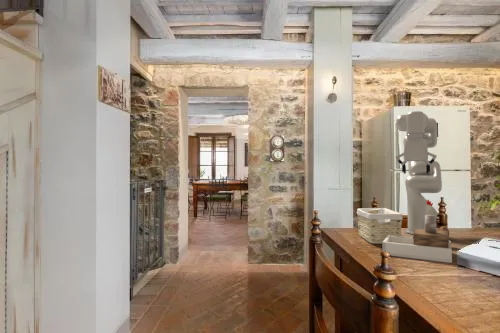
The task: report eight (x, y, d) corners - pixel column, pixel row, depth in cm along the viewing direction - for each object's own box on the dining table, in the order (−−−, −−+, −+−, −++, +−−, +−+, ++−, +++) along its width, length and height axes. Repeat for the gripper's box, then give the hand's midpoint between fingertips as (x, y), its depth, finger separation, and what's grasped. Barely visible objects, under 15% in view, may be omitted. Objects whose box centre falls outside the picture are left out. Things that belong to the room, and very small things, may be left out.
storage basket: (356, 234, 173) (355, 207, 173) (386, 234, 172) (386, 207, 172) (369, 245, 149) (368, 213, 149) (404, 245, 148) (404, 213, 148)
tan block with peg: (413, 253, 129) (412, 216, 129) (415, 246, 139) (414, 212, 139) (449, 257, 122) (448, 218, 122) (448, 250, 133) (447, 214, 133)
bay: (382, 254, 132) (382, 242, 132) (388, 245, 147) (388, 234, 147) (452, 262, 120) (451, 249, 120) (450, 252, 134) (450, 240, 134)
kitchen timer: (410, 221, 211) (410, 199, 211) (428, 220, 214) (427, 198, 214) (426, 225, 198) (426, 201, 198) (445, 224, 201) (444, 200, 201)
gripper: (436, 137, 150) (437, 173, 150) (396, 139, 159) (397, 173, 159) (436, 135, 143) (436, 173, 143) (394, 138, 152) (395, 173, 152)
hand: (415, 173), depth 151 cm, fingers open, 9 cm apart
